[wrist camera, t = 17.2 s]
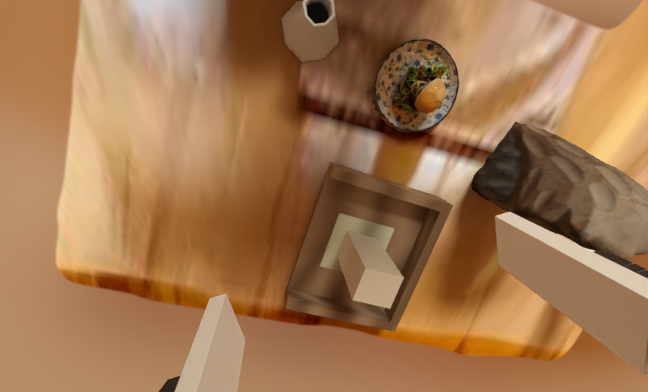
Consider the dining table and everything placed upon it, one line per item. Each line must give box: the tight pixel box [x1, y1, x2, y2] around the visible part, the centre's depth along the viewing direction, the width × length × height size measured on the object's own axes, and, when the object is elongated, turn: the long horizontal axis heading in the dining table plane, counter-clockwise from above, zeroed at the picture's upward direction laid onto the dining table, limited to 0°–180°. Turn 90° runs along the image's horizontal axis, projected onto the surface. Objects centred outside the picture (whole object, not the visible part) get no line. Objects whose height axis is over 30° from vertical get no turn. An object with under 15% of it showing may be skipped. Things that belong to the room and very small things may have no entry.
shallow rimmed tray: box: [285, 162, 453, 332], centre depth 47 cm, size 18×22×4 cm
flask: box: [281, 0, 339, 62], centre depth 34 cm, size 7×7×10 cm
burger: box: [373, 39, 459, 132], centre depth 39 cm, size 12×12×8 cm
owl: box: [472, 122, 648, 260], centre depth 39 cm, size 13×13×20 cm
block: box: [337, 231, 404, 309], centre depth 42 cm, size 5×4×11 cm
